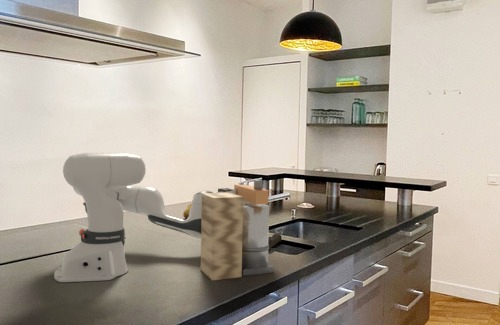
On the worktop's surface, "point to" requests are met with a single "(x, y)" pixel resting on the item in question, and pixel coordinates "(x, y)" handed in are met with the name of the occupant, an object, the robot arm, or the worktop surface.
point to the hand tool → (274, 240)
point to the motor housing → (255, 239)
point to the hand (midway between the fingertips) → (243, 190)
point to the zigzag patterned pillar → (221, 235)
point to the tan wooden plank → (253, 193)
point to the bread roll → (187, 211)
